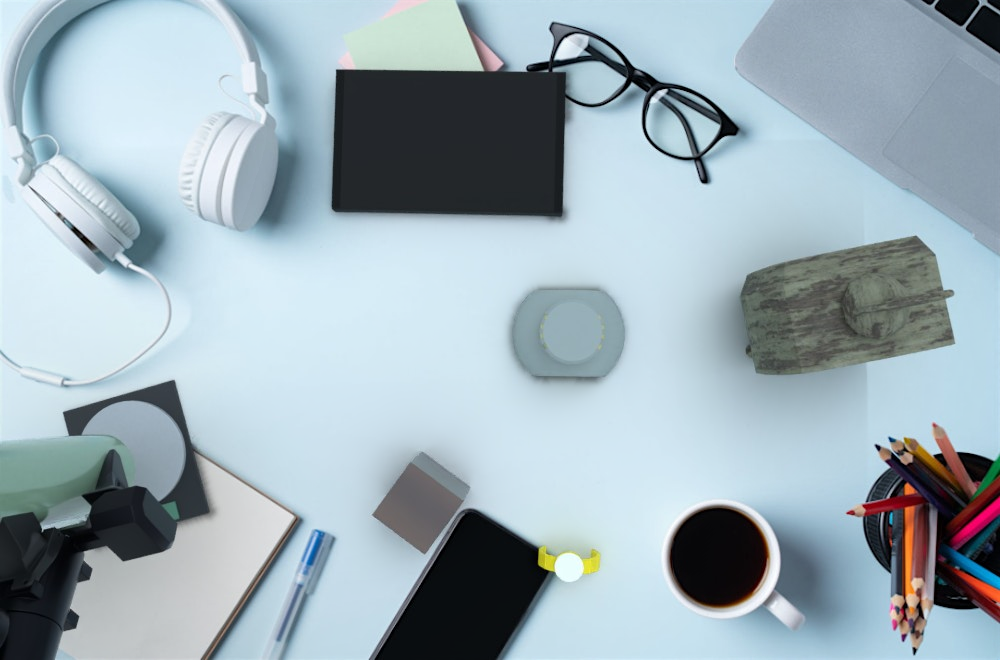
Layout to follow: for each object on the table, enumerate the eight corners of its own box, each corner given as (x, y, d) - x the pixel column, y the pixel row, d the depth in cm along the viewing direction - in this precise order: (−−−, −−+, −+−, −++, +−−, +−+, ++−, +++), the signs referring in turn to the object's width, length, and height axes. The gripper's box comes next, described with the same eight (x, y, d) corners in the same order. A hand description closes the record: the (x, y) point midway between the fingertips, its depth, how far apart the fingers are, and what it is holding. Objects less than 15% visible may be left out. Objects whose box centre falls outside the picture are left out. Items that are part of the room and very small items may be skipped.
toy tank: (733, 372, 79) (826, 379, 54) (715, 284, 79) (799, 251, 54) (876, 344, 78) (1036, 338, 54) (857, 256, 79) (1007, 210, 54)
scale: (215, 509, 81) (206, 514, 78) (105, 541, 81) (93, 546, 79) (180, 379, 81) (170, 379, 79) (71, 410, 82) (58, 412, 79)
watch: (598, 539, 79) (603, 555, 73) (596, 567, 79) (602, 584, 73) (539, 535, 79) (539, 550, 73) (537, 563, 79) (537, 580, 73)
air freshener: (621, 294, 80) (634, 285, 70) (620, 375, 79) (633, 378, 69) (514, 293, 80) (512, 284, 70) (513, 374, 80) (510, 376, 70)
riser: (436, 532, 80) (424, 554, 71) (389, 497, 80) (371, 515, 71) (471, 484, 80) (463, 501, 71) (424, 449, 80) (410, 461, 71)
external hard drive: (343, 78, 82) (336, 68, 79) (565, 81, 81) (566, 71, 78) (338, 214, 81) (331, 208, 78) (562, 218, 80) (563, 213, 77)
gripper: (78, 540, 51) (129, 373, 62) (-193, 608, 51) (-93, 429, 63) (163, 620, 58) (194, 457, 70) (-75, 678, 59) (-5, 507, 70)
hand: (75, 462), depth 68 cm, fingers closed on canister, 7 cm apart
